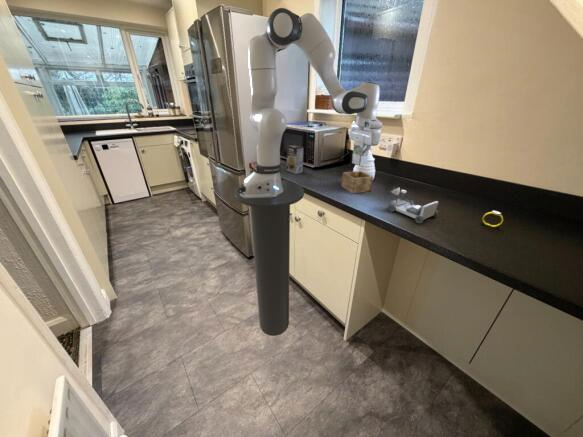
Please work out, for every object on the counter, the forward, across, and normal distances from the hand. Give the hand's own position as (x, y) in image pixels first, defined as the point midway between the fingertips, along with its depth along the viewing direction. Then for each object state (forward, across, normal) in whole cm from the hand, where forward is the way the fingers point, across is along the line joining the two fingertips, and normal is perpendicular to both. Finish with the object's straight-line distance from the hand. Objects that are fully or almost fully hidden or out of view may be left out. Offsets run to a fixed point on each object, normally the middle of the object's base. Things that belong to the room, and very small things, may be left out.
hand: (360, 151), depth 116 cm
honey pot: (+20, -15, +15) cm, 29 cm away
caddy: (+20, 0, 0) cm, 20 cm away
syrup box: (+6, 0, 0) cm, 6 cm away
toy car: (+20, +32, +6) cm, 38 cm away
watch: (+20, +51, +28) cm, 62 cm away
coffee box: (+20, -39, -21) cm, 49 cm away
